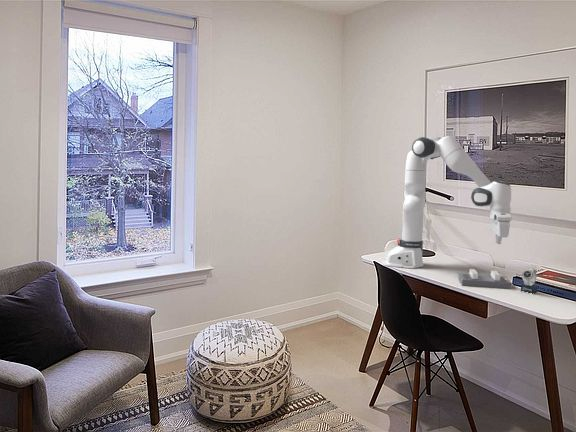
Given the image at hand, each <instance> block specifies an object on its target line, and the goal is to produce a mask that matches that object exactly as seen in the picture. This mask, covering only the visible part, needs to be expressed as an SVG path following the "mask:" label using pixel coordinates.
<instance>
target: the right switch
mask: <svg viewBox="0 0 576 432" xmlns="http://www.w3.org/2000/svg"><path fill="white" fill-rule="evenodd" d="M490 275H491V277H492V278H493V279H494V280H495V281H500V276H501V274H500V273H499V272H498V271H497V270H490Z"/></svg>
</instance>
